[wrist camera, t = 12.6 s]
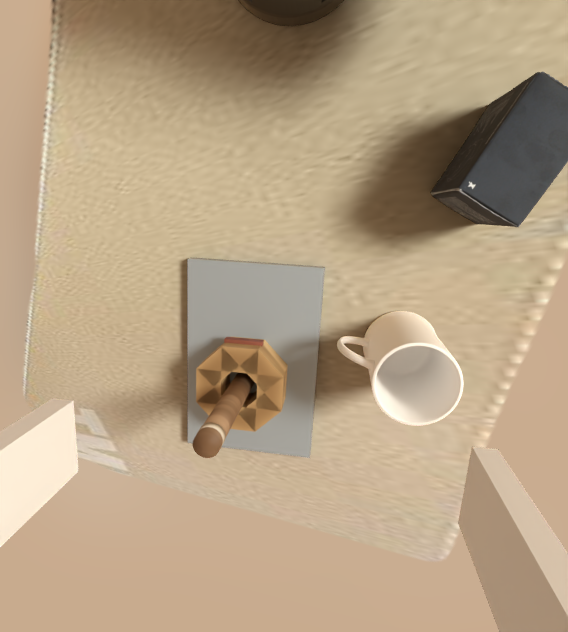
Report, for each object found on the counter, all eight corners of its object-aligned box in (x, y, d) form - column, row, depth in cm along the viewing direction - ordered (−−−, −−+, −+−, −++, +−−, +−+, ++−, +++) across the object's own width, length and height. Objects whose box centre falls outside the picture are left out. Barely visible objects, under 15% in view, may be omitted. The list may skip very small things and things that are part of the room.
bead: (207, 331, 51) (196, 340, 47) (289, 338, 50) (284, 348, 46) (206, 412, 54) (196, 427, 50) (284, 421, 52) (279, 437, 49)
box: (479, 227, 46) (518, 230, 35) (427, 194, 45) (452, 188, 35) (545, 135, 43) (608, 110, 33) (490, 100, 43) (536, 65, 33)
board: (191, 257, 50) (187, 258, 49) (324, 267, 49) (324, 268, 47) (190, 438, 56) (187, 442, 55) (310, 452, 54) (309, 457, 53)
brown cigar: (236, 366, 52) (192, 430, 36) (256, 368, 51) (220, 433, 36) (236, 385, 52) (192, 456, 37) (256, 387, 52) (219, 460, 36)
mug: (326, 352, 51) (321, 392, 39) (355, 288, 49) (359, 310, 37) (416, 390, 51) (439, 442, 39) (450, 328, 48) (484, 363, 37)
